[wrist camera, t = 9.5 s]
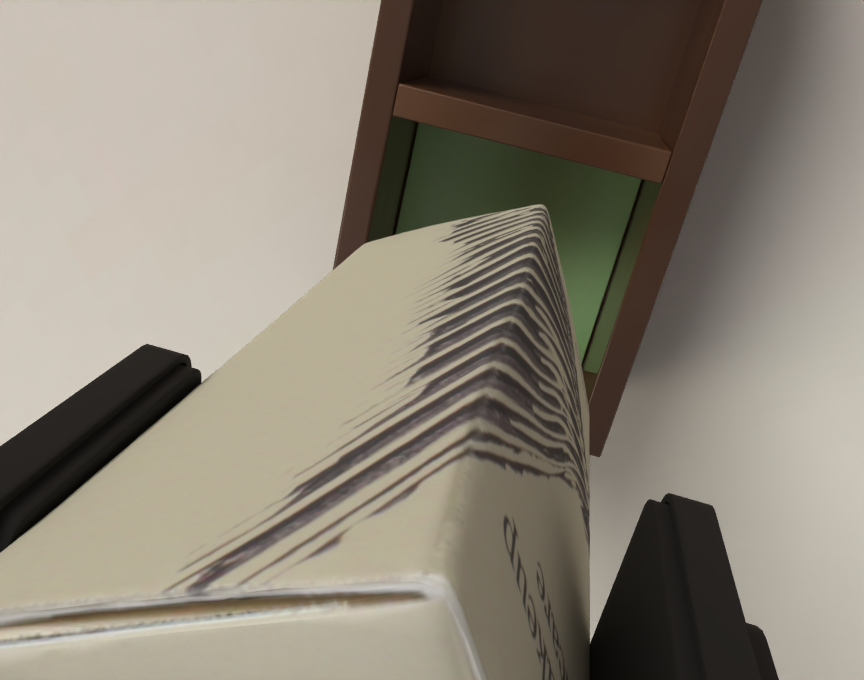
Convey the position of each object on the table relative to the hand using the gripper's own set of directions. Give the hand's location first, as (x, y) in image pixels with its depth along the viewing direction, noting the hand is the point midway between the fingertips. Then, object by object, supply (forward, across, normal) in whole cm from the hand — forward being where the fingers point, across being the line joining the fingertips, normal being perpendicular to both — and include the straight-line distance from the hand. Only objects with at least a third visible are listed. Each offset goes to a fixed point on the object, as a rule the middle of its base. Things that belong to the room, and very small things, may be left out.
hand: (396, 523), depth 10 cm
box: (+8, 0, 0) cm, 8 cm away
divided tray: (+16, 0, -4) cm, 16 cm away
